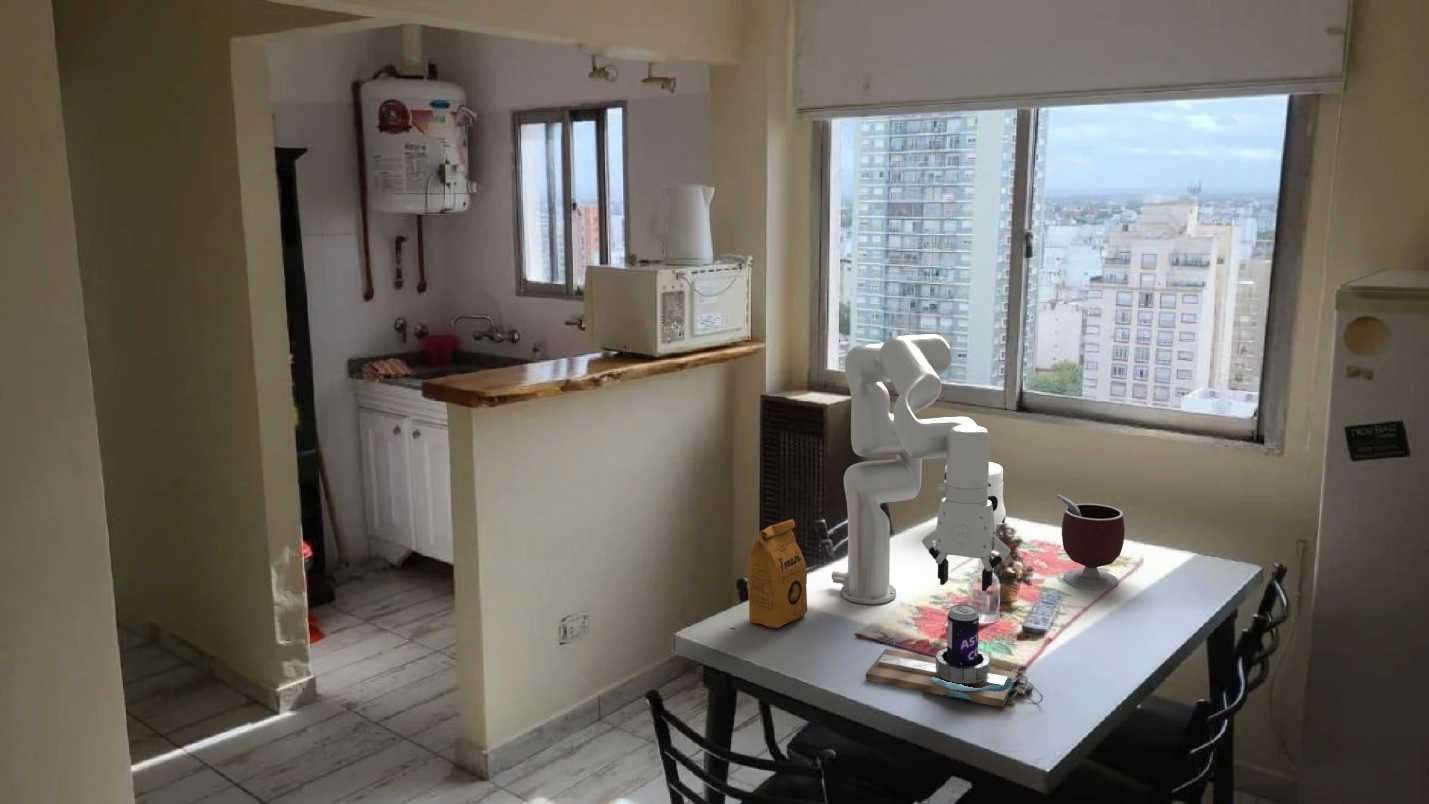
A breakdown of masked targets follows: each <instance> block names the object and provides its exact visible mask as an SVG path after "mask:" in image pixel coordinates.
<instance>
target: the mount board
mask: <svg viewBox="0 0 1429 804" xmlns="http://www.w3.org/2000/svg"><path fill="white" fill-rule="evenodd" d="M884 654H885V655H890V656H896V657H901V658H906V659H912V660H917V661H923V662H928V663H934V664H936V657H934V656H933V657H931V656H926V655H921V654H916V653H911V652H906V651H905V652H904V651H899V650H894V649H889V648H885V649H884V650H883V651H882V653H881V654H880V655H879V657H877V659H876V660H875V661H874V663H873V664H872V665H871V666H870V667H869V668H868V670H867V671H866V673H865V680H866V679H867V680H871V681H874V682H873V683H877V682H880V683H879V684H882V683H884V684H883V685H887V686H893V687H897V688H898V687H899V688H903V689H908V690H912V691H913V690H914V691H916V692H917V691H919V692H921V693H922V692H924V693H928V694H932V693H933V695H937V694H939V695H938V696H943V695H947V694H949V693H948V691H951V690H952V689H949V688H946V687H944V686H941V685H938V684H936V683H934V682H933V680H931V679H930V678H932V677H935V678H939V679H941V680H944V679H942V678H941V677H938V676H933V675H927V674H922V673H917V672H911V671H906V670H901V669H896V668H890V667H885V666H880V665H878V661H879V660H880V658H881V657H882V656H883V655H884ZM989 674H993V675H999V676H1004V677H1007V678H1013V679H1015V678H1016V677H1017V678H1018V672H1015V671H1009V670H1004V669H999V668H993V667H990V672H989ZM871 681H870V682H871ZM944 681H946V680H944ZM946 682H949V681H946ZM962 685H964V686H968V687H973V688H983V687H985V685H980V684H967V685H966V684H962ZM1010 687H1011V686H1010ZM1010 687H1009V688H1008V689H1006V690H1004V691H1003V690H1002V691H1000V692H999V691H997V692H996V691H995V692H994V691H983V690H982V691H981V690H977V691H959V690H954V689H953V690H952V691H957V692H961V693H964V694H967V695H969V697H970V698H972V699H971V701H970V702H973V703H977V704H984V705H988V706H989V705H990V706H994V707H1000V708H1004V707H1005V706H1006V703H1007V701H1008V699H1007V697H1008V693H1009V689H1010ZM934 693H935V694H934ZM1008 698H1009V697H1008Z"/></svg>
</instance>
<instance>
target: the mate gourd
mask: <svg viewBox="0 0 1429 804" xmlns="http://www.w3.org/2000/svg"><path fill="white" fill-rule="evenodd" d="M1056 498H1057V499H1059V500H1061V501H1062V502H1063V503H1064V504H1065V505H1066V507H1065V509H1064V511H1065V512H1064V514H1063V518H1062V523H1061V541H1062V546H1063V547H1062V548H1063V550H1064V551H1065V553H1066V555H1067V556H1068V557H1069V559H1070V560H1071V561H1073V562H1074V563H1076V564H1079V565H1082V566H1084V568H1081V569H1080V568H1079V569H1071V570H1069V571H1066V572H1064V574H1063V576H1062V577H1063V581H1064V582H1065V584H1067V583H1068V584H1067V585H1069V586H1072V587H1074V588H1079V589H1082V590H1088V589H1090V591H1107V590H1112V589H1114V588H1116V587H1118V585H1119V579H1118V577H1117V576H1115V575H1113V574H1111V573H1108V572H1106V571H1102V570H1098V568H1101V567H1105V566H1109V565H1112V564H1113V563H1114V562H1115V561H1116V560H1117V558H1119V557H1120V555H1121V553H1122V550H1123V548H1124V547H1123V546H1124V542H1125V532H1126V530H1125V529H1126V528H1125V519H1124V513H1123V511H1122V510H1121V509H1119V508H1116V507H1113V506H1110V505H1105V504H1099V503H1078V504H1077V503H1074V502H1073V501H1071V500H1070V499H1068V498H1066V497H1065V496H1063V495H1061V494H1057V495H1056ZM1104 589H1105V590H1104ZM1106 589H1107V590H1106Z"/></svg>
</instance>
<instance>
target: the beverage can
mask: <svg viewBox="0 0 1429 804" xmlns="http://www.w3.org/2000/svg"><path fill="white" fill-rule="evenodd" d="M979 622H980V616H979V614H978V610H977V608H976V607H974V606H972V605H969V604H955V605H954V604H953V605H952V606H950V607H949V611H948V614H947V631H946V637H947V638H946V648H947V662H948V663H950V664H952V665H957V666H962V667H966V666H976V665H977V664H978V650H979V629H980V628H979V627H980V626H979V625H980V623H979Z"/></svg>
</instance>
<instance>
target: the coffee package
mask: <svg viewBox="0 0 1429 804" xmlns="http://www.w3.org/2000/svg"><path fill="white" fill-rule="evenodd" d="M795 527H796V523H795V521H794V519H793V518H792V519H791V518H790V519H789V520H785V521H781V522H779V523H775V524H771V525H769V526H768V527H765V529H762V530H760V532H759V534H758V536H757V537H756V540H755V542H754V544H753V546H752V548H751V551H750V553H749V559H748V579H747V581H748V582H747V583H748V584H747V585H748V586H747V589H748V607H749V608H748V615H749V623H752V624H761V625H763V626H765V627H768V628H775V629H779V628H781V627H782V626H783V625H786V624H788V623H791V622H794V621H797V620H798V619H800V618H801V617H804V616H805V615H806V614H807V611H808V594H807V584H808V580H807V579H808V576H807V575H808V571H807V566H806V560H805V558H804V555H803V553H802V551H801V548H800V547H799V545H798V543H797V541H796V537H795V534H794V531H793V530H792V529H795Z"/></svg>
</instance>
